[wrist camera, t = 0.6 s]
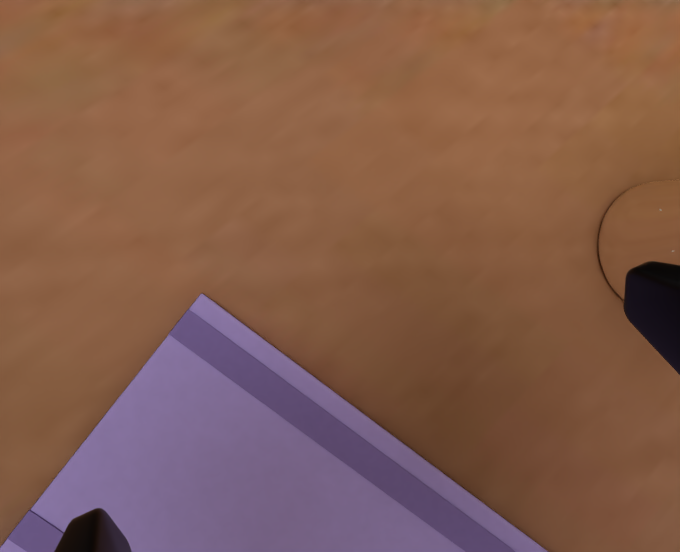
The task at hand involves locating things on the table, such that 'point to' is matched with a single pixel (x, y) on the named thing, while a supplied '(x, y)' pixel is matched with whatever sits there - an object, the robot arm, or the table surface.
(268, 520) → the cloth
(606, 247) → the silver metal cup
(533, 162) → the table surface
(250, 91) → the table surface
